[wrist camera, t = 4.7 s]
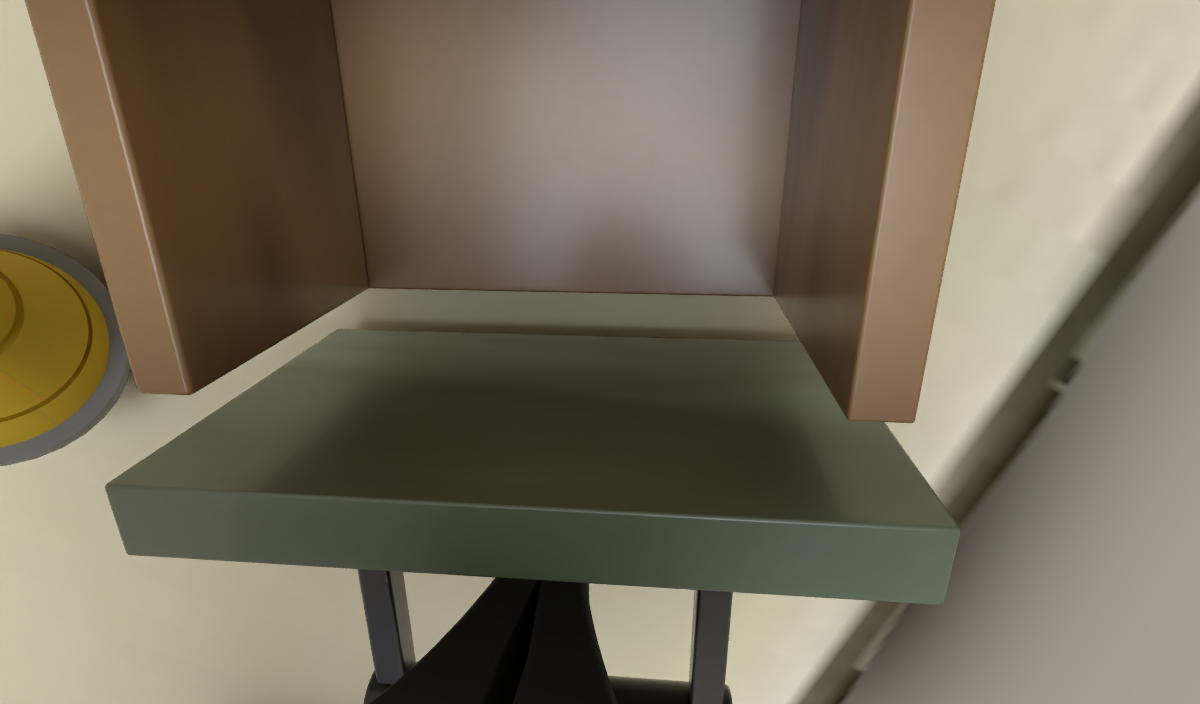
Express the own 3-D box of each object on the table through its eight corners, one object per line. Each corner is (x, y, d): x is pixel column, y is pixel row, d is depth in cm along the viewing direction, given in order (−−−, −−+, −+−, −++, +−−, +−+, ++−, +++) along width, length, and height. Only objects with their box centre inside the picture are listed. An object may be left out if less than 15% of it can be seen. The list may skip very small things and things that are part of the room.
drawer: (795, 589, 17) (878, 886, 10) (374, 564, 18) (212, 820, 11) (939, -504, 9) (1514, -1780, 3) (213, -441, 10) (-488, -1305, 4)
